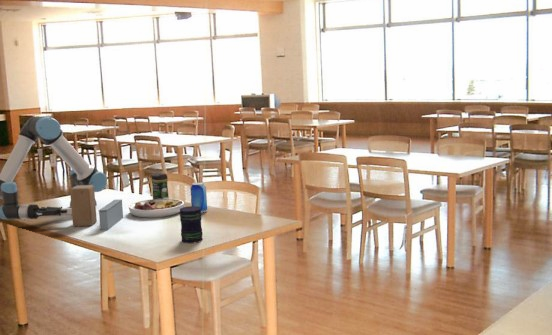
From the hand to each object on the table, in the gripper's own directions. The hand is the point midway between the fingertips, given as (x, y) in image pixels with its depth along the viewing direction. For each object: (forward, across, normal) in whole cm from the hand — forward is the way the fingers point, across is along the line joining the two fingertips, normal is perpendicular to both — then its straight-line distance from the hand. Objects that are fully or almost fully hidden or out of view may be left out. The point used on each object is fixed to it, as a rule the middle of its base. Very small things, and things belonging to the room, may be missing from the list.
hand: (73, 210), depth 341 cm
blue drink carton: (+61, -24, -8) cm, 66 cm away
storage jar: (+69, +35, -8) cm, 77 cm away
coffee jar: (+34, -48, -8) cm, 59 cm away
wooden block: (+5, 0, -8) cm, 9 cm away
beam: (+20, -1, -8) cm, 21 cm away
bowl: (+37, -25, -8) cm, 46 cm away
